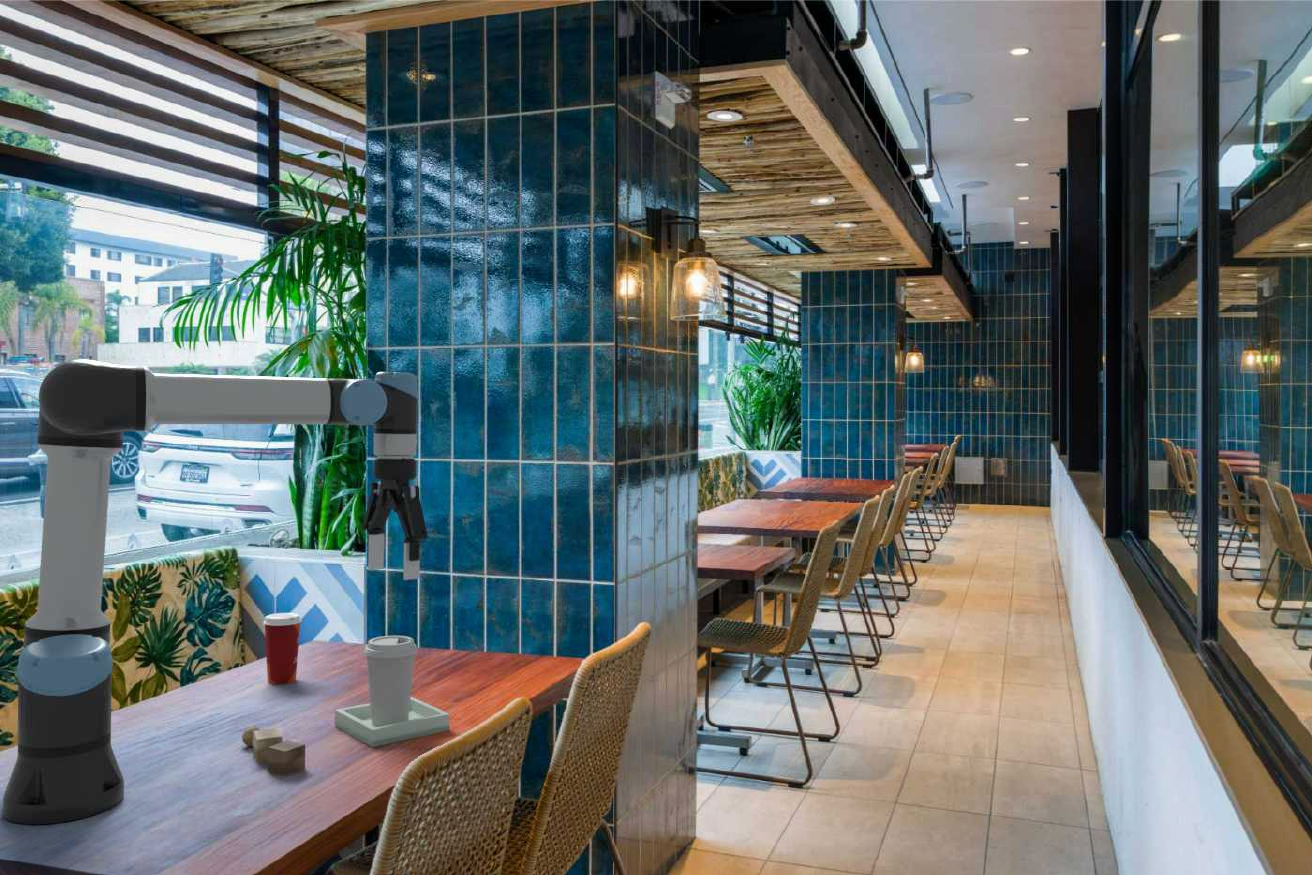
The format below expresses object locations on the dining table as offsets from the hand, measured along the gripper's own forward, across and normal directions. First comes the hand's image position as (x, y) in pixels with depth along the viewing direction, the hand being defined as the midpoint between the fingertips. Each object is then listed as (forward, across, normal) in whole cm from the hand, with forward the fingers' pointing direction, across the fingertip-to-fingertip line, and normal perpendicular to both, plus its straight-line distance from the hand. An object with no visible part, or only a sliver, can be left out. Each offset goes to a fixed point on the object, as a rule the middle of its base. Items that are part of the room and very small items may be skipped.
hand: (393, 574), depth 182 cm
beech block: (+28, -1, +23) cm, 36 cm away
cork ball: (+28, +6, +23) cm, 37 cm away
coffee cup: (+27, +1, 0) cm, 27 cm away
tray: (+28, 0, 0) cm, 28 cm away
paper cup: (+28, +44, +3) cm, 52 cm away
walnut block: (+28, -9, +23) cm, 38 cm away
